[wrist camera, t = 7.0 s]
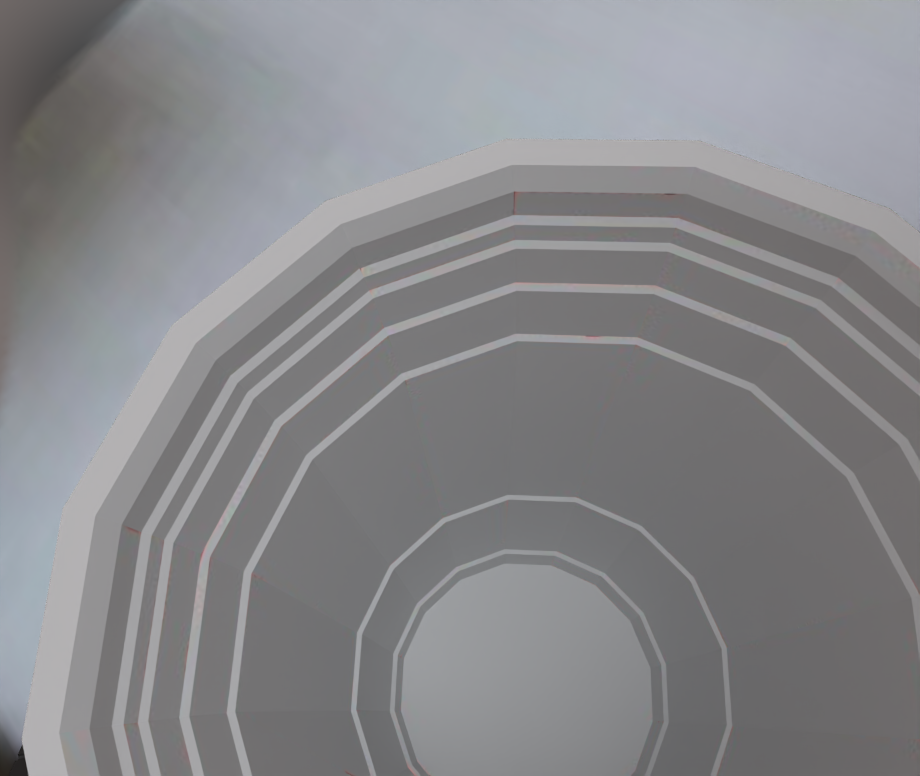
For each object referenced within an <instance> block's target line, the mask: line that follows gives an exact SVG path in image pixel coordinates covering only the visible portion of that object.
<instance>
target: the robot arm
mask: <svg viewBox="0 0 920 776" xmlns="http://www.w3.org/2000/svg"><path fill="white" fill-rule="evenodd" d="M18 756H19V759H18V760H17V761H15V763H14V765H13V767H12V770H11V772H10V774H9V776H29V775H28V770H27V765H26V759H25V754H24V749H23V744H22V747H21V749H20V751H19V754H18Z"/></svg>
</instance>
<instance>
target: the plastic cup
mask: <svg viewBox="0 0 920 776" xmlns="http://www.w3.org/2000/svg"><path fill="white" fill-rule="evenodd" d="M22 744H23V749H24V754H25V759H26V765H27V770H28V775H29V776H920V232H919V231H918V230H916V229H915V228H914V227H912V226H911V225H910V224H909V223H907V222H906V221H905V220H904V219H902V218H901V217H900V216H899V215H897V214H896V213H895V212H894V211H892V210H891V209H890V208H887V207H884V206H881V205H879V204H876V203H873V202H870V201H867V200H865V199H862V198H859V197H856V196H853V195H851V194H848V193H845V192H842V191H839V190H837V189H834V188H831V187H828V186H825V185H822V184H820V183H817V182H814V181H811V180H808V179H806V178H803V177H800V176H797V175H794V174H792V173H789V172H786V171H783V170H780V169H778V168H775V167H772V166H769V165H766V164H763V163H761V162H758V161H755V160H752V159H749V158H747V157H744V156H741V155H738V154H735V153H733V152H730V151H727V150H724V149H721V148H718V147H716V146H713V145H710V144H707V143H704V142H702V141H686V140H581V139H504V140H501V141H498V142H495V143H492V144H490V145H487V146H484V147H481V148H478V149H475V150H472V151H469V152H466V153H463V154H460V155H458V156H455V157H452V158H449V159H446V160H443V161H440V162H437V163H434V164H431V165H429V166H426V167H423V168H420V169H417V170H414V171H411V172H408V173H405V174H402V175H399V176H397V177H394V178H391V179H388V180H385V181H382V182H379V183H376V184H373V185H370V186H367V187H365V188H362V189H359V190H356V191H353V192H350V193H347V194H344V195H341V196H338V197H336V198H333V199H330V200H327V201H325V202H323V203H322V204H321V205H320V206H319V207H317V208H316V209H315V210H314V211H312V212H311V213H310V214H309V215H307V216H306V217H305V218H304V219H302V220H301V221H300V222H299V223H298V224H296V225H295V226H294V227H293V228H291V229H290V230H289V231H288V232H286V233H285V234H284V235H283V236H281V237H280V238H279V239H278V240H277V241H275V242H274V243H273V244H272V245H270V246H269V247H268V248H267V249H265V250H264V251H263V252H262V253H260V254H259V255H258V256H257V257H256V258H254V259H253V260H252V261H251V262H249V263H248V264H247V265H246V266H244V267H243V268H242V269H241V270H239V271H238V272H237V273H236V274H235V275H233V276H232V277H231V278H230V279H228V280H227V281H226V282H225V283H223V284H222V285H221V286H220V287H218V288H217V289H216V290H215V291H214V292H212V293H211V294H210V295H209V296H207V297H206V298H205V299H204V300H202V301H201V302H200V303H199V304H197V305H196V306H195V307H194V308H193V309H191V310H190V311H189V312H188V313H186V314H185V315H184V316H183V317H181V318H180V319H179V320H178V321H176V322H175V323H174V324H173V325H172V326H171V327H170V329H169V331H168V332H167V334H166V336H165V337H164V339H163V341H162V342H161V344H160V346H159V347H158V349H157V351H156V352H155V354H154V356H153V358H152V359H151V361H150V363H149V364H148V366H147V368H146V369H145V371H144V373H143V374H142V376H141V378H140V379H139V381H138V383H137V384H136V386H135V388H134V390H133V391H132V393H131V395H130V396H129V398H128V400H127V401H126V403H125V405H124V406H123V408H122V410H121V411H120V413H119V415H118V416H117V418H116V420H115V422H114V423H113V425H112V427H111V428H110V430H109V432H108V433H107V435H106V437H105V438H104V440H103V442H102V443H101V445H100V447H99V448H98V450H97V452H96V454H95V455H94V457H93V459H92V460H91V462H90V464H89V465H88V467H87V469H86V470H85V472H84V474H83V475H82V477H81V479H80V480H79V482H78V484H77V486H76V487H75V489H74V491H73V492H72V494H71V496H70V497H69V499H68V501H67V502H66V504H65V506H64V507H63V511H62V516H61V522H60V528H59V533H58V539H57V544H56V550H55V556H54V561H53V567H52V572H51V578H50V584H49V589H48V595H47V600H46V606H45V612H44V617H43V623H42V628H41V634H40V640H39V645H38V651H37V656H36V662H35V668H34V673H33V679H32V684H31V690H30V696H29V701H28V707H27V712H26V718H25V724H24V729H23V735H22Z"/></svg>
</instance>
